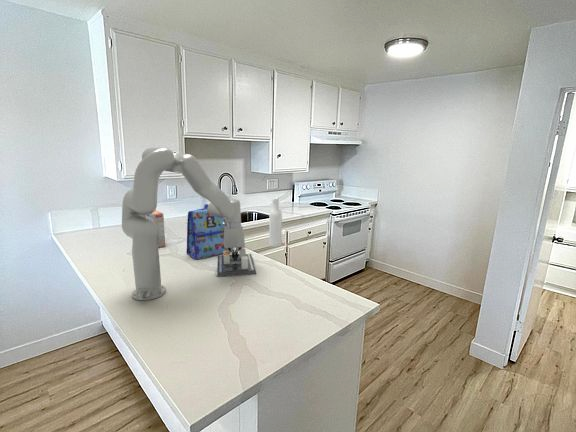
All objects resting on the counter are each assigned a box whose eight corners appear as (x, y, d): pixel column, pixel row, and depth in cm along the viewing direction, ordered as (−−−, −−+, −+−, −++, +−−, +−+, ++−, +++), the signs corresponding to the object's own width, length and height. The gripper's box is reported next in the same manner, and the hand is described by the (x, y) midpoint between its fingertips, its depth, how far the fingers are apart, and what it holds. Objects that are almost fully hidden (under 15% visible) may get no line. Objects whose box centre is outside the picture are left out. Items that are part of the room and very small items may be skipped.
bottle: (267, 244, 192) (267, 197, 186) (279, 242, 195) (279, 196, 188) (271, 247, 184) (271, 199, 178) (283, 246, 187) (284, 198, 181)
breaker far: (245, 257, 161) (245, 248, 160) (239, 257, 160) (239, 248, 159) (245, 254, 165) (244, 246, 164) (239, 255, 164) (239, 246, 163)
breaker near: (248, 268, 146) (247, 258, 145) (241, 269, 145) (241, 259, 144) (247, 265, 149) (247, 256, 148) (241, 266, 149) (241, 256, 148)
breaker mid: (229, 263, 152) (229, 253, 150) (223, 264, 151) (223, 253, 150) (229, 261, 155) (229, 250, 154) (223, 261, 155) (223, 251, 154)
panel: (255, 274, 145) (255, 269, 144) (217, 276, 141) (217, 272, 141) (251, 257, 168) (251, 253, 167) (217, 259, 164) (217, 255, 164)
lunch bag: (195, 260, 162) (192, 207, 156) (186, 254, 172) (182, 204, 166) (231, 252, 175) (230, 203, 169) (220, 246, 185) (219, 200, 179)
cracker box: (166, 246, 185) (163, 213, 180) (156, 248, 181) (153, 214, 176) (158, 241, 195) (155, 209, 191) (148, 243, 191) (145, 210, 187)
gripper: (217, 227, 145) (220, 263, 149) (249, 225, 148) (250, 260, 152) (218, 223, 152) (220, 257, 156) (248, 221, 155) (249, 255, 159)
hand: (235, 259), depth 154 cm, fingers closed
